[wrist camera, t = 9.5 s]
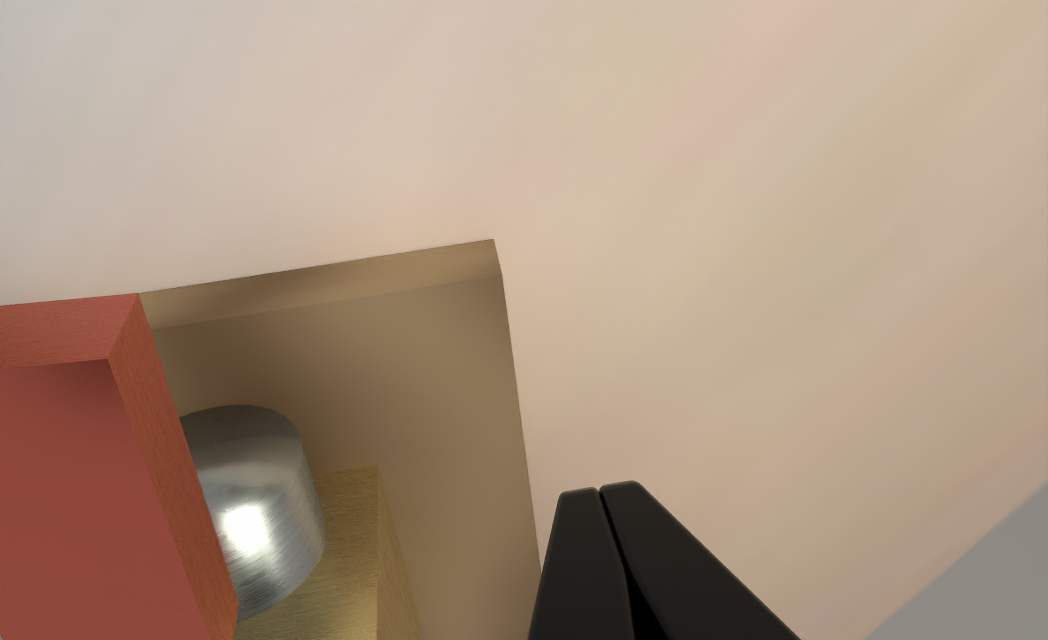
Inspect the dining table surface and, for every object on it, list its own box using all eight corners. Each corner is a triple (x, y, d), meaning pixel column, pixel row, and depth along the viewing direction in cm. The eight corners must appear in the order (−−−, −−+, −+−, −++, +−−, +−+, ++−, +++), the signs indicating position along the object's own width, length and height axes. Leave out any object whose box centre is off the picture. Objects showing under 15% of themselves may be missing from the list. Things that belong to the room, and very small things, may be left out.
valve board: (140, 729, 24) (127, 780, 23) (-105, 331, 17) (-145, 375, 15) (549, 653, 25) (557, 699, 24) (493, 239, 17) (502, 274, 16)
